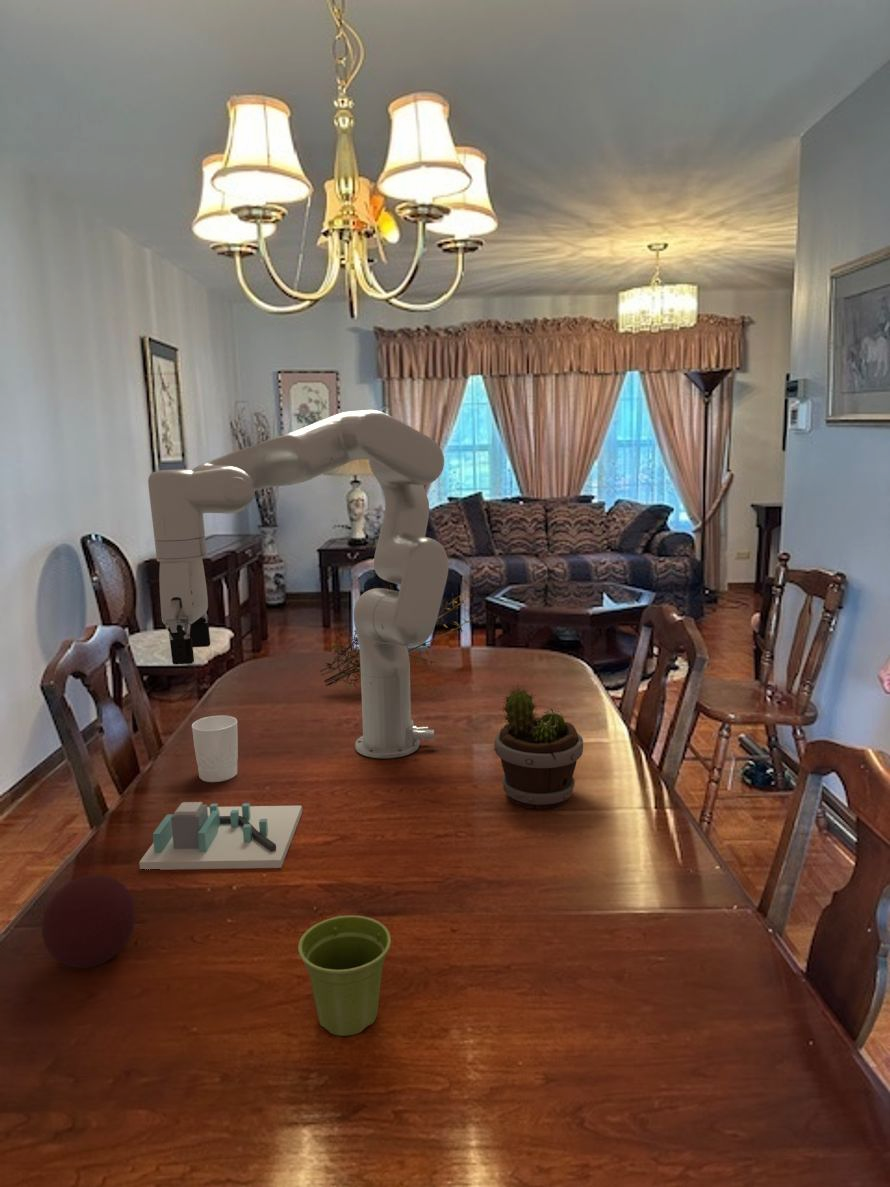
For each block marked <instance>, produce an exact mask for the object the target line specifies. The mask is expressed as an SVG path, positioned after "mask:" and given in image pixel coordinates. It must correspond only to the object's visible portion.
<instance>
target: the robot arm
mask: <svg viewBox="0 0 890 1187" xmlns="http://www.w3.org/2000/svg"><path fill="white" fill-rule="evenodd" d="M441 448H442V447H440V446H439V444H438V443H437V442H436V441H435V440H434V439H433V438H432V437H429V436H428V435H426V434H424V432H423V433H422V432H421V431H419V430H417V429H416V428H413V427H411V426H410V425H408V424H407V423H404V422H403V421H401V420H398V419H397V418H395V417H393V416H392V415H389V414H388V413H385V412H383V411H379V410H375V409H362V410H361V409H360V410H350V411H349V410H348V411H343V412H340V413H339V412H338V413H337V414H334V415H332V416H329V417H326V418H324V419H322V420H319V421H316V422H314V423H311V424H309V425H307V426H303V427H302V428H299V429H296V430H293V431H291V432H288V433H285V434H282V435H280V436H276V437H274V438H273V437H272V438H270V439H268V440H264V441H262V442H260V443H256V444H254V445H250V446H247V447H244V448H241V449H238V450H235V451H233V452H229V453H227V454H225V455H222V456H218V457H217V458H214V459H211V460H208V461H207V462H204V463H202V464H199V465H197V466H195V467H193V468H192V469H188V468H187V469H185V468H183V469H181V468H180V469H162V470H156V471H154V472H152V473H150V475H149V476H148V480H147V482H148V494H149V503H150V504H149V505H150V510H151V512H150V513H151V520H152V522H151V523H152V529H153V538H154V546H155V555H156V561H157V562H159V573H158V574H159V582H158V583H159V598H160V599H159V600H160V613H161V614H160V615H161V621H162V624H163V625H165V626H168V627H167V631H168V639H169V644H170V654H171V661H172V662H171V663H172V664H173V665H191V664H192V665H193V663H195V655H194V654H195V653H194V648H205V647H210V645H211V634H210V627H209V626H210V625H209V624H210V623H209V622H208V621H209V616H208V614H207V611H208V608H209V602H208V601H209V600H208V588H207V581H206V574H205V566H204V562H203V559H206V558H207V557H208V553H207V551H208V550H207V542H206V534H205V522H204V514H225V515H226V514H228V515H230V514H236V513H240V512H242V511H244V510H245V509H247V508H248V507H250V505H251V503H252V501H253V500H254V498H255V493H256V491H259V490H264V489H268V488H275V487H276V488H277V487H285V486H292V485H296V484H301V483H305V482H307V481H310V480H312V479H315V478H317V477H320V476H321V475H324V474H325V473H328V472H330V471H333V470H335V469H337V468H340V467H341V466H344V465H346V464H348V463H350V462H351V463H352V462H354V461H358V460H367V461H368V465H369V468H370V471H371V473H372V475H373V476H374V477H375V479H376V480H377V482H378V483H379V485H380V487H381V489H382V493H383V495H384V499H385V500H384V502H385V503H384V504H385V507H384V513H383V514H384V515H383V519H382V523H381V527H380V531H379V536H378V538H377V539H378V540H377V544H376V547H375V550H374V551H375V553H374V557H373V569H374V572H375V573H376V575H377V576H378V577H379V578H380V579H382V580H383V581H387V583H388V582H389V583H392V584H397V585H400V586H399V590H393V589H392V590H391V589H389V588H383V587H381V588H380V587H379V588H377V587H376V588H372V589H369V590H367V591H364V592H363V593H362V594H361V595H360V596H359V597H358V599H357V601H356V602H355V605H354V608H353V623H354V628H355V629H354V630H355V631H356V632H355V633H356V637H357V638H358V643H359V645H358V649H359V651H360V653H359V654H360V655H359V657H360V658H359V659H360V661H359V662H360V666H361V669H360V670H361V671H360V673H361V675H360V676H361V679H360V681H361V682H360V686H361V687H360V689H361V716H362V720H361V721H362V735H361V736H360V737H359V738H357V739H356V741H355V746H354V747H355V751H356V752H357V753H359V754H360V755H361V756H365V757H368V758H372V759H395V758H401V757H405V756H408V755H411V754H413V753H414V752H416V751H417V750H418V749H419V747H420V740H426V741H428V740H429V741H433V740H435V730H434V729H429V726H420V727H419V726H418V727H417V725H414V719H412V714H411V713H412V711H411V710H412V708H411V707H412V706H411V704H412V703H411V702H412V701H411V700H412V699H411V683H410V681H411V663H410V654H409V652H408V650H409V648H415V647H417V646H419V645H422V644H423V643H426V642H428V641H429V638H430V637H431V635H432V634H433V632H434V630H435V627H436V625H437V620H438V619H437V618H438V617H439V614H440V608H441V605H442V602H443V601H442V599H443V597H444V592H445V589H446V584H447V580H448V576H449V559H448V554H447V552H446V550H445V548H444V546H443V545H442V544H441V543H440V542H439V541H437V540H436V539H434V538H431V537H427V536H426V535H427V530H428V529H427V528H428V524H429V523H428V522H429V517H430V502H429V497H428V494H427V492H426V490H425V487H424V486H425V485H426V486H427V485H429V484H431V483H433V482H435V481H436V480H438V478H439V477H440V476H441V475H442V472H443V470H444V466H445V456H444V453H443V450H442V449H441ZM407 647H408V648H407Z"/></svg>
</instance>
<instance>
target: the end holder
mask: <svg viewBox="0 0 890 1187" xmlns="http://www.w3.org/2000/svg"><path fill="white" fill-rule="evenodd" d="M173 814H174V813H172V814H170V813H169V814H166V815H165V817H164V818H163V819H162V821H160V823H159V825H158V826H157V827H156V828H155V830H154V832H153V833H152V841H153V843H154V853H162V851H163V850H164V848H165V847H166V846H167V844H168V843H169V841H170V840H171V838H172V837H173V834H172V822H171V817H172V815H173ZM217 833H218V825H217V814H210V815H209V816H208V818H207V819H206V821H205V823H204V824H203V826H202V827H201V829H200V831H199V832H198V841H199V852H207V850H208V849H209V847H210V845H211V843H212V842H213V840H214V838H215V836H216V835H217Z"/></svg>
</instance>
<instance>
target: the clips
mask: <svg viewBox="0 0 890 1187" xmlns="http://www.w3.org/2000/svg"><path fill="white" fill-rule="evenodd" d="M241 806H242V816H243V817H244V818H245V819H246V820H250V818H251V814H250V806H251V804H250V802H246V803H242V805H241ZM209 807H210V814H217V825H218V828H219V826H220V814H219V811H218V807H219V805H218V803H210V805H209ZM230 817H231V828H237V827H238V826H239V812H238V810H232V811H231V813H230ZM259 829H260V833H261V834H262V835H264V836H265V837H267V835H268V824H267V819H260V821H259ZM243 839H244V842H251V840H252V830H251V824H244V826H243Z"/></svg>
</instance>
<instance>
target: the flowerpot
mask: <svg viewBox="0 0 890 1187" xmlns="http://www.w3.org/2000/svg"><path fill="white" fill-rule="evenodd" d="M515 682H516V684H517V685H516V686H512V685H511V688H512V689H509V691H508V694H509V695H505V696H504V695H503V696H502V697H504V698H502V700H503V705H502V706H501V709H502V713H503V715H504V716H503V719H504V722H505V723H506V724H505V725H504V726H503V727H502V728H501V729H500V732H498V733H497V734H496V736H495V739H494V746H493V750H494V752H495V754H496V755H497V757H498V758H500V761H501V766H502V770H503V773H504V775H503V777H502V786H503V787H502V789H503V790H504V792H505V793H506V795H507V796H508V797H509V799H510V801H511V802H513V803H514V804H517V805H518V806H520V807H522V808H525V809H529V808H530V810H532V809H537V810H545V809H546V808H550V809H554V808H558V807H560V806H562V805H565V803H567V801H568V799H569V798H570V797H571V796H572V794H573V791H574V787H575V783H576V781H575V780H576V779H575V778H574V774H575V771H576V770H575V769H576V765H577V761H578V760H579V759H580V758H581V757H582V756H583V753H584V752H583V751H584V739H583V737H582V736H581V735H580V733H578V731H577V729H576V728H575V726H574V725H573V724H572V723H570V722H568V721H565V719H566V717H565V716H563V714H562V713H559V711H558V710H557V711H556V710H554V708H551V707H550V709H549V710H547V712H546V713H545V714H544V715H542V716H541V717H537V715H538V713H536V712H537V710H538V708H537V707H539V706H540V704H539V705H537V701H536V702H535V700H534V696H536V694H533V693H532V692H530V694H528V692H529V690H527V685H526V686H525V685H524V686H522V687H520V685H519V683H518V682H517V681H515ZM534 710H536V711H534ZM550 711H551V712H550ZM558 713H559V714H558Z"/></svg>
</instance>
